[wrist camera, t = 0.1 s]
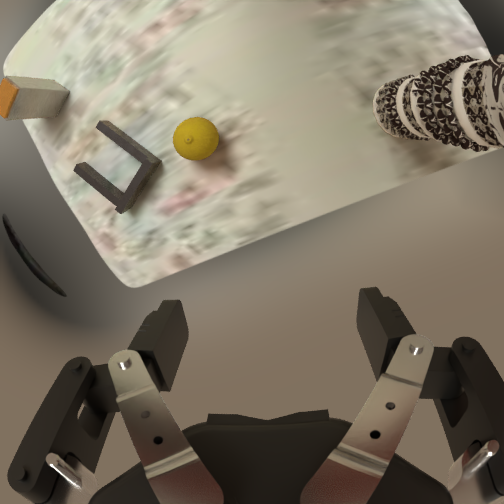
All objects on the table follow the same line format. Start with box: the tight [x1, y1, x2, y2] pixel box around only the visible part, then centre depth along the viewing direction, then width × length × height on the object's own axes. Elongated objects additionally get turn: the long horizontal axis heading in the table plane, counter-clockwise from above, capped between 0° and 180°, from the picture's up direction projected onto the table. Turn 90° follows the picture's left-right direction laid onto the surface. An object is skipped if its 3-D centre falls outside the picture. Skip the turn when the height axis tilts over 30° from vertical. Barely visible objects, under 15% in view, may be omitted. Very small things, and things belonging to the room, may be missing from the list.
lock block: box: [0, 76, 70, 121], centre depth 28 cm, size 5×5×13 cm
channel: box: [73, 121, 161, 214], centre depth 37 cm, size 11×9×4 cm
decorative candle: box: [373, 54, 504, 152], centre depth 22 cm, size 9×9×25 cm
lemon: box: [173, 117, 219, 160], centre depth 33 cm, size 6×6×8 cm
